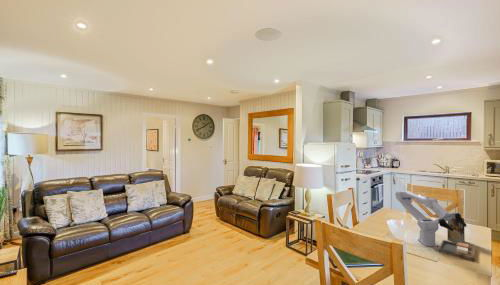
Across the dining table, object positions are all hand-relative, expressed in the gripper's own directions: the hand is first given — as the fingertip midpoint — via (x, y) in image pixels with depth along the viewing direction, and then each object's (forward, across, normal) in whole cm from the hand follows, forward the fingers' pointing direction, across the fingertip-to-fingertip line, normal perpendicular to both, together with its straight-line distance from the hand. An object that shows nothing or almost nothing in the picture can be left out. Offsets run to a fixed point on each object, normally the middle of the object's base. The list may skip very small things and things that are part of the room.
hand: (459, 228), depth 141 cm
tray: (-5, -4, +24) cm, 25 cm away
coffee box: (-15, +9, +36) cm, 40 cm away
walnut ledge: (+1, +2, +24) cm, 24 cm away
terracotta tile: (-3, +4, +25) cm, 25 cm away
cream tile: (+2, 0, +20) cm, 20 cm away
